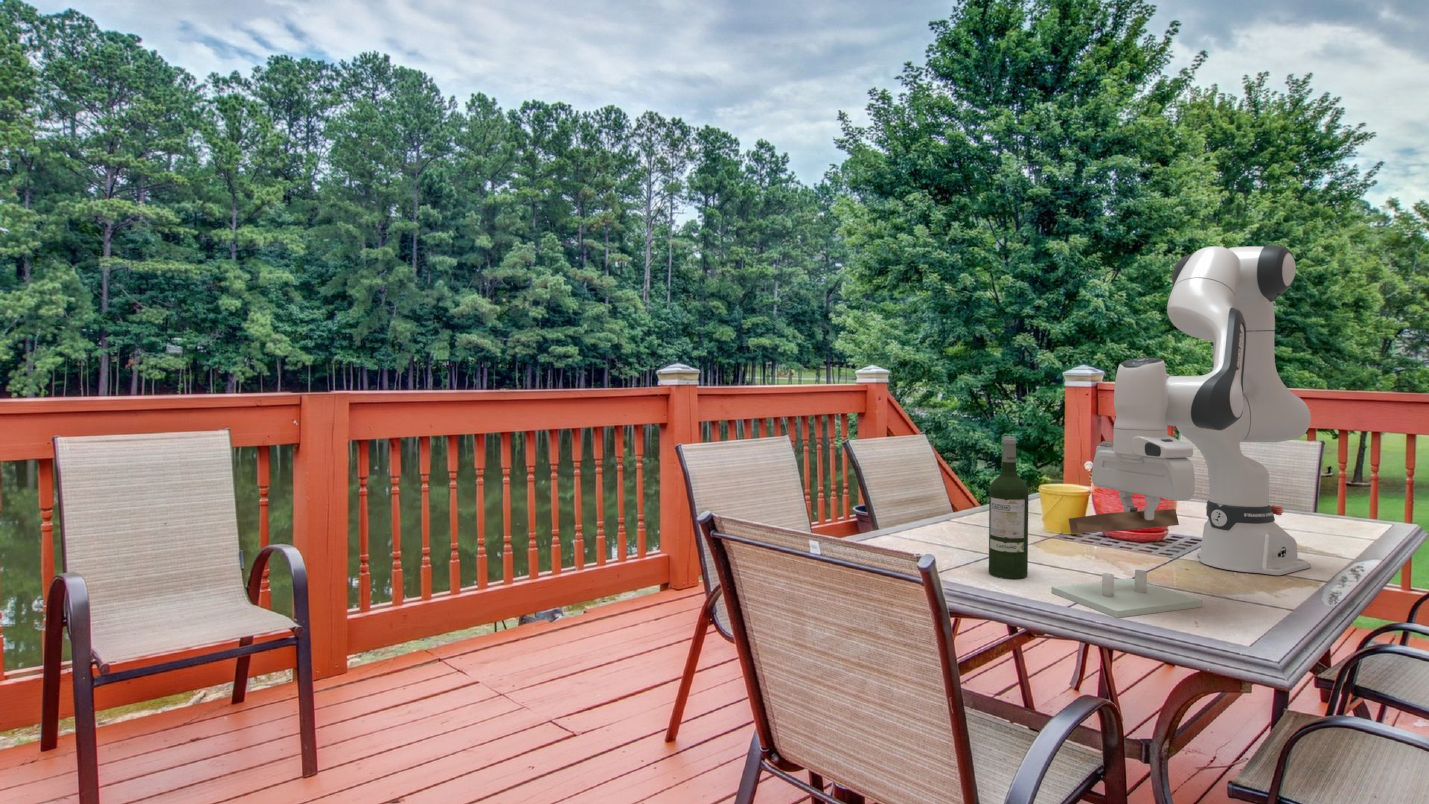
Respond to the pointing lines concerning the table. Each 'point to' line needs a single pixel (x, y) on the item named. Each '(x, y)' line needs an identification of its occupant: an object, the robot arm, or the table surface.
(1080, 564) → the table surface
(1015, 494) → the wine bottle
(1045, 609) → the table surface
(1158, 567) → the table surface
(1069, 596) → the board
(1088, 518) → the frame
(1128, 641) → the table surface
